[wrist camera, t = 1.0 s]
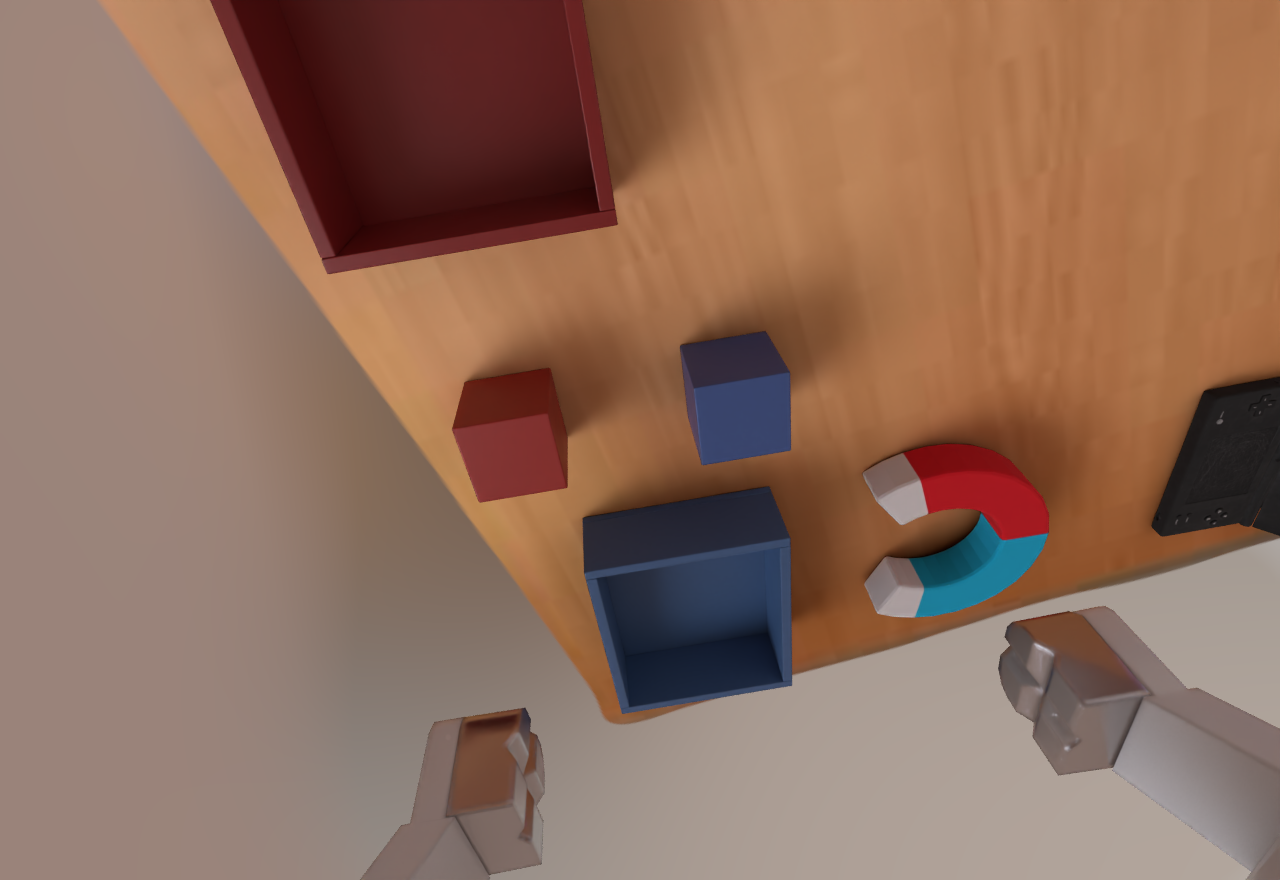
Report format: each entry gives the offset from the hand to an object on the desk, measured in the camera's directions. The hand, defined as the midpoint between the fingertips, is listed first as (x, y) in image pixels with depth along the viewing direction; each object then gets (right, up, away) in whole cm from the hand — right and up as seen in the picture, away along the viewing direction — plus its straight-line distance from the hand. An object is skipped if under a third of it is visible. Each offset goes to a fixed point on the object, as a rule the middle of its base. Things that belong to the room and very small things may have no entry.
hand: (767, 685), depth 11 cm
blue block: (+2, +8, +23) cm, 24 cm away
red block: (-9, +6, +23) cm, 25 cm away
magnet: (+22, 0, +28) cm, 36 cm away
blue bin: (+1, -5, +31) cm, 32 cm away
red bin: (-10, +19, +14) cm, 26 cm away
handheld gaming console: (+35, +4, +30) cm, 46 cm away
